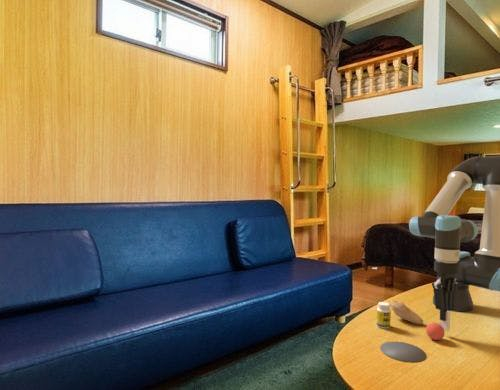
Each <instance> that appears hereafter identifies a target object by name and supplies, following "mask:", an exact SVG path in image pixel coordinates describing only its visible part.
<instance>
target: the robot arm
mask: <svg viewBox="0 0 500 390" xmlns="http://www.w3.org/2000/svg"><path fill="white" fill-rule="evenodd" d="M446 178H447V179H446V182H445V184H443V186H442V187H441V189H440V190H439V191H438V193H437V194H436V196H435V197H434V199H433V200H432V201H431V203H430V204H429V205H428V207H427V208H426V209H425V211H424V212H423V214H422V215H421V216H419V215H418V216H413V217H412V218H410V220H409V223H408V227H409V228H408V229H409V231H410V233H411V234H412V235H413V236H417V237H423V238H424V237H426V238H432V239H434V242H435V243H434V254H433V255H434V257H433V258H434V262H433V264H434V265H433V270H434V272H436V273H437V276H436V281H435V282H434V281H433V282H432V283H431V286H432V289H433V296H432V304H434V305H435V309H436V310H439V324H440V325H441V326H442V327H443V329H444V331H447V332H448V331H450V330H451V328H450V327H451V312H455V311H456V312H471V311H473V310H474V301H473V299H472V295H471V293H470V286H472V287H476V288H482V289H485V290H490V291H496V292H500V154H499V155H487V156H483V155H482V156H481V155H480V156H474V157H470V158H468V159H466V160H464V161H462V162H460V163H459V164H458V165H456V166H455V167H454V168H453V169H452V170H451V171H450V172H449V174H447V177H446ZM472 185H482V186H481V187H482V189H483V190H484V191H485V201H484V209H483V215H482V216H483V217H482V224H481V227H482V228H481V233H480V234H481V235H480V243H479V249H478V250H476V251H475V252H474V256H471V253H470V252H469V251H464V250H463V251H461V242H462V243H463V242H469V241H472V240H474V239H476V237H477V236H478V233H479V228H478V226H477V224H476V223H475V222H474V221H473V220H468V219H461V217H460V216H457V215H450V213H451V211H452V210H453V208H454V206H455V205H456V204H457V202H458V201H459V199H460V198H461V197H462V195H463V193H464V192H465V191H466V190H468V189H470V188H471V186H472Z"/></svg>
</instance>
